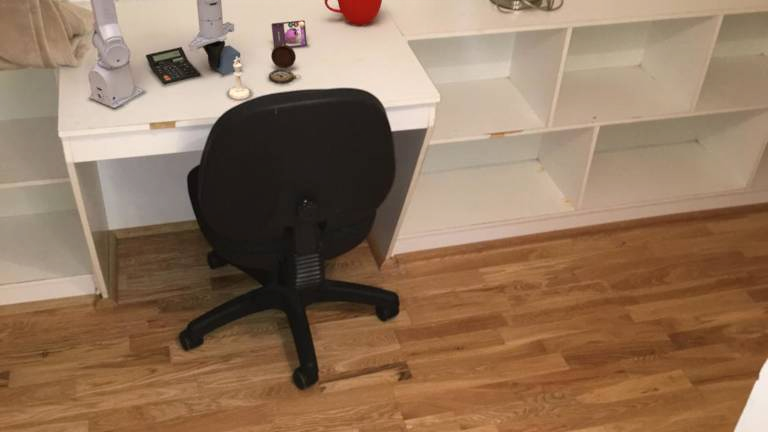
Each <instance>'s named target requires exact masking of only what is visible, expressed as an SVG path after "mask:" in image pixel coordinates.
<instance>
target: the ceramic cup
mask: <svg viewBox="0 0 768 432" xmlns="http://www.w3.org/2000/svg"><path fill="white" fill-rule="evenodd" d="M328 2H329V0H324V5H325V7H326V8H327V9H328V10H329V11H330V12H334V13H337V14H342V16H343V18H344V19H345V20H346V21H347V22H348V23H349V24H351V25H353V26H356V27H357V26H358V27H360V26H367V25H369V24H371V22H372V21H373V20H374V19H375V18H376V17H377V15H378V14H379V12H380V11H381V10H380V9H381V7H382V2H383V0H337V3H338V8H339V9H337V8H333V7H331V6H330V5H329V4H328Z"/></svg>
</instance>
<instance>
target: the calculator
mask: <svg viewBox="0 0 768 432" xmlns="http://www.w3.org/2000/svg"><path fill="white" fill-rule="evenodd" d="M145 58H146V60H147V62H148V65H149V66H150V68H151V71H152V72H153V73H154V75H155V76H156V77H157V78H158V80H159V81H160V82H161V83H162V84H163V85H164V86H166V85H168V84H169V85H170V84H173V83H176V82H181V81H185V80H189V79H193V78H198V77H201V73H200V72H199V71H198V70H197V69H196V67H195V66H193V64H192V63H191V62H190V61H189V59H188V57H187V55H186V53H185V51H184V49H183V47H182V46H179V47H176V48H175V47H174V48H171V49H166V50H161V51H157V52H152V53H149V54H146V55H145Z"/></svg>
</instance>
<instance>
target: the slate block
mask: <svg viewBox="0 0 768 432" xmlns="http://www.w3.org/2000/svg"><path fill="white" fill-rule="evenodd" d="M236 57H238V58H240V59H241V52H240V51H239V50H237V49H236V48H234V47H233V46H231V45H230V44H228V45H225V46H224V48H223V50H222V52H221V55H220V66H219V68H217V69H215V70H216V71H217V72H218V73H220V74H221V75H222V76H224V75H229V74H232V73H234V72H235V68H234V66H233V64H234V63H235V62H234V60H236ZM239 63H241V60H240V61H239Z"/></svg>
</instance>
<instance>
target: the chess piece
mask: <svg viewBox="0 0 768 432" xmlns="http://www.w3.org/2000/svg"><path fill="white" fill-rule="evenodd" d="M239 61H240V63H239ZM234 62H235V63H234V64H233V66H234V68H235V72H233V76H235V86H234V87H232V88H230V89H229V91H228V92H229V96H230V97H231V98H232V99H233V98H234V99H239V100H240V99H245V98H247V97H249V96H250V90H249V89H248V88H247V86H246V87H245V86H243V83H242V78H241V77H242V76H243V72H242V71H241V69H242V68H243V67H242V66H243V65H242V62H241V57H240V58H238V57H236V60H234Z"/></svg>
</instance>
